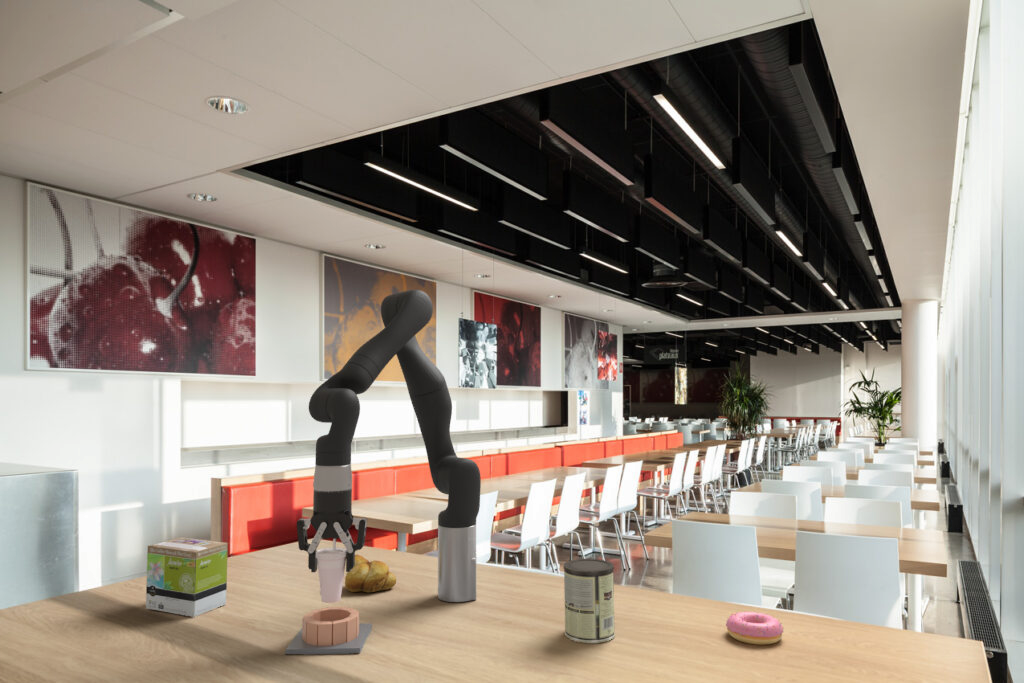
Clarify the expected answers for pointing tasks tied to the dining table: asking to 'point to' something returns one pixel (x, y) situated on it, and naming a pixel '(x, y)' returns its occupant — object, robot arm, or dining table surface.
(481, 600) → the dining table surface
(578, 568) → the coffee can
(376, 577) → the bread roll
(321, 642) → the collar
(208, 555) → the tea box
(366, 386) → the robot arm
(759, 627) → the doughnut
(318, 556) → the smoothie
